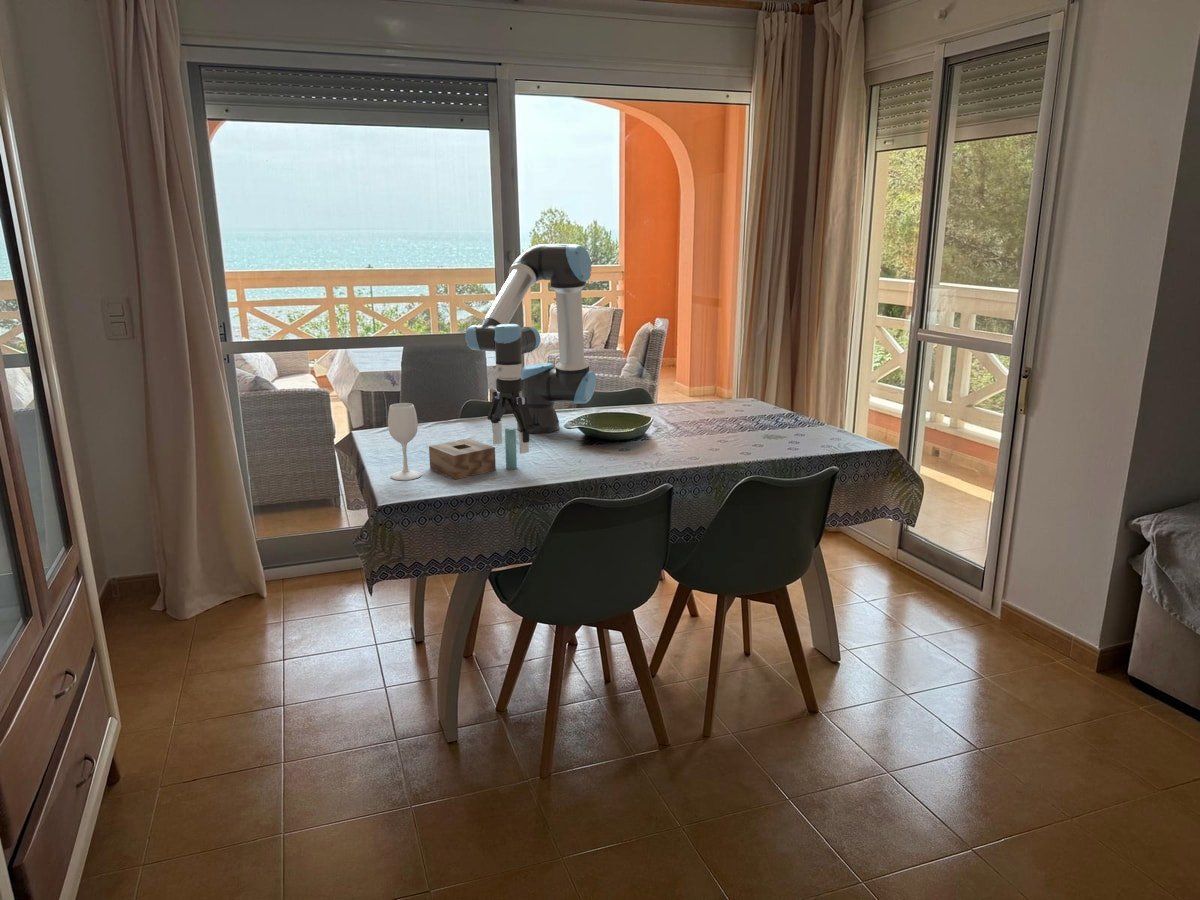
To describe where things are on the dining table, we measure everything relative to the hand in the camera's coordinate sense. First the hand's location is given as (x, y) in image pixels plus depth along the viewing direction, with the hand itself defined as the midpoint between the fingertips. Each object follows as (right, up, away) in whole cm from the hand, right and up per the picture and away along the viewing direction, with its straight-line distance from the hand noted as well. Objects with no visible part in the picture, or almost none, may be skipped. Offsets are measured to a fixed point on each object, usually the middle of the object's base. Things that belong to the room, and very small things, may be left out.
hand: (510, 448), depth 239 cm
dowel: (0, -6, +2) cm, 6 cm away
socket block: (-14, -6, 0) cm, 16 cm away
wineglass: (-30, -8, -7) cm, 31 cm away
